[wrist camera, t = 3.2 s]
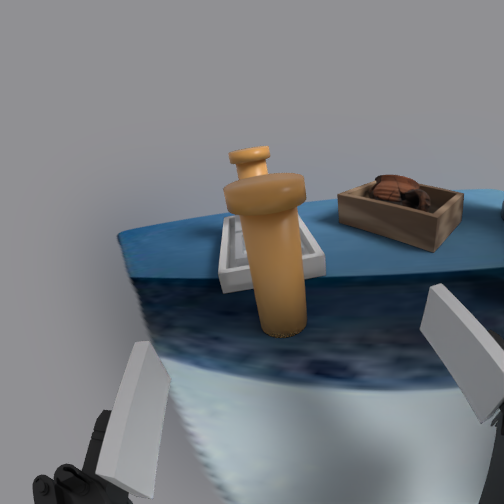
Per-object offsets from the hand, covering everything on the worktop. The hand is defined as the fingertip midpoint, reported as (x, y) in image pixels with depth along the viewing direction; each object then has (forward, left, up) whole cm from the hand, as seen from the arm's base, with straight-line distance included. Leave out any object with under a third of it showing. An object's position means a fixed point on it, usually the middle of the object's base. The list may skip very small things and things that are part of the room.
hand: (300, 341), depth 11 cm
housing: (-12, -21, -7) cm, 26 cm away
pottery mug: (-31, -12, -7) cm, 34 cm away
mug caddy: (-32, -11, -7) cm, 34 cm away
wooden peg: (-5, -8, -7) cm, 12 cm away
